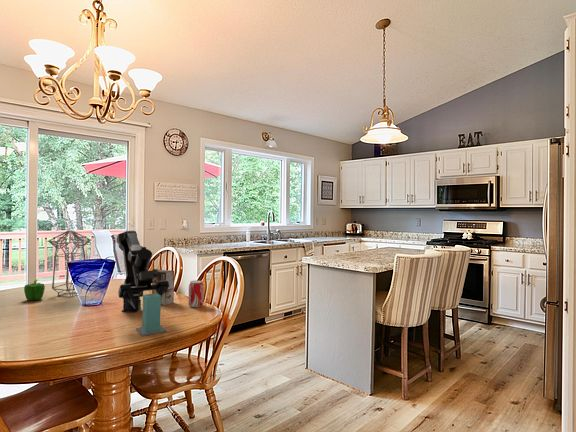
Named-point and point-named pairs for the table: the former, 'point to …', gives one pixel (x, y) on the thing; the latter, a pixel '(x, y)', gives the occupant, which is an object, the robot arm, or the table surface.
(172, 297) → the coffee box
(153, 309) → the teal rectangular block
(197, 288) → the soda can
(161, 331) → the plate
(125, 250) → the robot arm
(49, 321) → the table surface
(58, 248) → the geometric lantern
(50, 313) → the table surface
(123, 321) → the table surface
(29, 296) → the bell pepper
